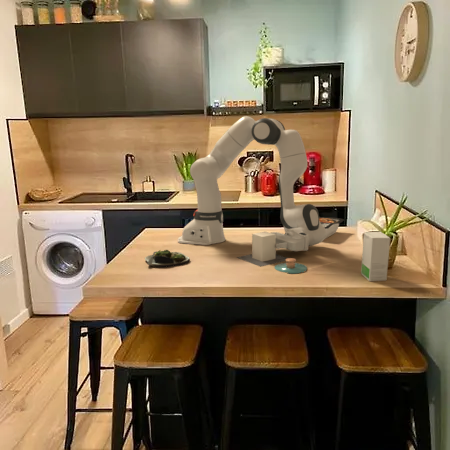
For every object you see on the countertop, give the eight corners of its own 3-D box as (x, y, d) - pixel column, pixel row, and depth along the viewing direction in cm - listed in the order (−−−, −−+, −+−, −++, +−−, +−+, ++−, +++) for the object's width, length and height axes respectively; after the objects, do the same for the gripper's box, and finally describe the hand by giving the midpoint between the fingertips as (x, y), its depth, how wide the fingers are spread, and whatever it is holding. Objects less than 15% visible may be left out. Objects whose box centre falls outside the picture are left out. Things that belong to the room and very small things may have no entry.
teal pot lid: (273, 273, 172) (273, 263, 172) (275, 263, 184) (275, 254, 183) (306, 274, 170) (306, 264, 169) (307, 264, 182) (307, 255, 181)
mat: (260, 267, 179) (260, 266, 179) (236, 258, 192) (236, 257, 192) (292, 260, 188) (292, 259, 188) (266, 251, 201) (266, 250, 201)
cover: (262, 261, 185) (262, 236, 183) (252, 257, 191) (252, 233, 189) (275, 258, 189) (275, 234, 187) (265, 255, 194) (265, 231, 192)
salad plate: (136, 258, 196) (136, 247, 195) (177, 252, 204) (176, 242, 203) (150, 271, 179) (149, 259, 178) (194, 264, 187) (193, 253, 186)
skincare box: (360, 274, 169) (362, 231, 166) (378, 273, 170) (380, 231, 166) (369, 281, 161) (371, 237, 158) (388, 280, 162) (390, 236, 158)
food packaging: (344, 218, 231) (328, 226, 213) (344, 233, 233) (328, 243, 214) (297, 213, 244) (278, 221, 226) (297, 228, 246) (278, 237, 227)
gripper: (277, 227, 205) (252, 231, 198) (311, 236, 189) (285, 241, 181) (277, 241, 207) (252, 246, 199) (310, 251, 190) (284, 257, 183)
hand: (268, 244), depth 190 cm, fingers open, 8 cm apart
